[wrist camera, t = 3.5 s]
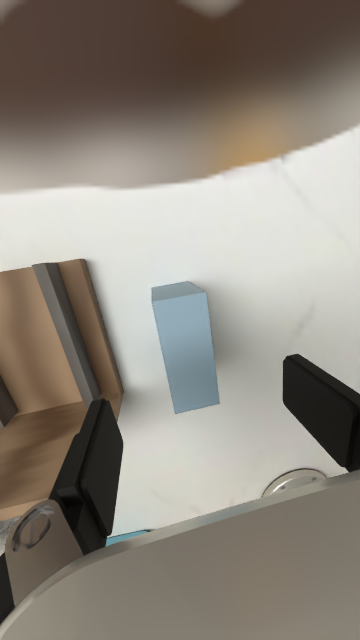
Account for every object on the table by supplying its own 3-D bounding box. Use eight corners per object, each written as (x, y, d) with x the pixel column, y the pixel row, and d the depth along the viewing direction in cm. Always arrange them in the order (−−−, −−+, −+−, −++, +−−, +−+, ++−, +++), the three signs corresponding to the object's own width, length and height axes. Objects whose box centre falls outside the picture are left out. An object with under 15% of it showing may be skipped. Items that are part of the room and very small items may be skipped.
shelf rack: (84, 259, 20) (3, 257, 9) (123, 391, 25) (101, 494, 14) (-67, 284, 19) (-365, 315, 8) (5, 417, 24) (-120, 552, 13)
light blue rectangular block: (187, 281, 22) (206, 291, 15) (199, 360, 25) (219, 403, 18) (151, 287, 22) (151, 302, 14) (168, 367, 25) (175, 414, 17)
